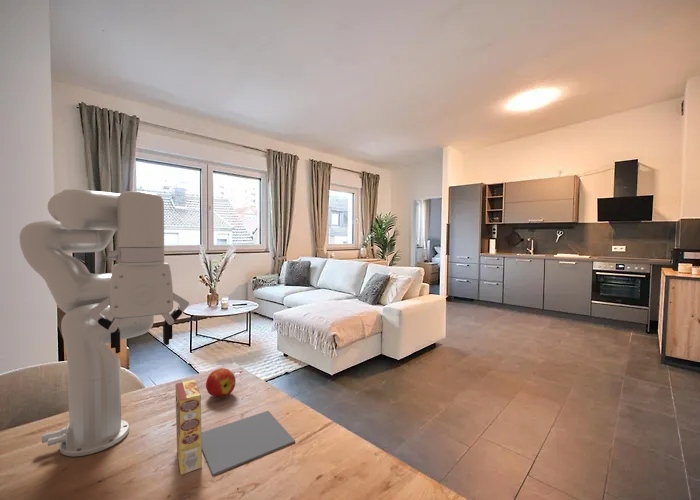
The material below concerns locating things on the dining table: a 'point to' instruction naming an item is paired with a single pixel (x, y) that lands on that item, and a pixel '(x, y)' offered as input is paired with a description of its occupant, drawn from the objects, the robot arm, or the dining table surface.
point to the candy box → (188, 426)
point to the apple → (220, 383)
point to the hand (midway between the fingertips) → (142, 346)
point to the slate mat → (243, 441)
